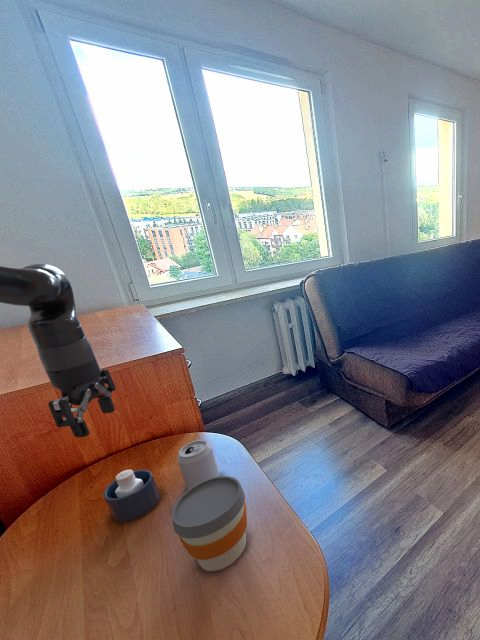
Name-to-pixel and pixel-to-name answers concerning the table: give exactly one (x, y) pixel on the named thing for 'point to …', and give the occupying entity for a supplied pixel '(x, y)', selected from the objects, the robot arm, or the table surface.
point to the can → (197, 462)
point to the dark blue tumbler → (133, 498)
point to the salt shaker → (127, 483)
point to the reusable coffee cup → (212, 522)
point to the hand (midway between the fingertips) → (96, 423)
